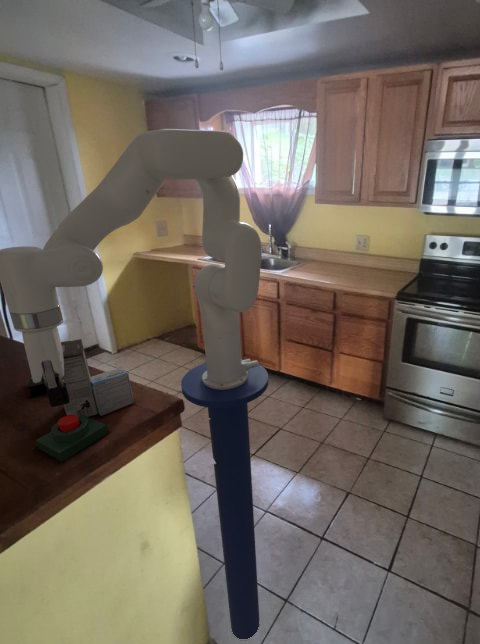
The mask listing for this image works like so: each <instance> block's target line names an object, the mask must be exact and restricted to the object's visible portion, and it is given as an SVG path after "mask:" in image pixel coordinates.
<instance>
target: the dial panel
mask: <svg viewBox="0 0 480 644" xmlns="http://www.w3.org/2000/svg"><path fill="white" fill-rule="evenodd" d="M28 389H29V393H30V395H31V398H32V397H38V396H41V395H46V394H47V391H46V389H47V388H46V385H45V382H44V378H41V382H38V383H34V382H33V380H32V375H31V373H30V374H29V382H28Z"/></svg>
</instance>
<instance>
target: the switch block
mask: <svg viewBox="0 0 480 644" xmlns="http://www.w3.org/2000/svg"><path fill="white" fill-rule="evenodd" d="M78 419H79V422H80V425H79V427H78V428H76V429H74V430H71V431H68V432H62V431H60V428H59V425H58V421H57V422H56V423H55V424H53V426H51V429H50V430H51V431H50V432H48V433H46V434H44V435H43V436H41V437H39V438H37V439H35V443H36V445H37V448H38V450H40V451H42V452H44V453H45V454H47V455H49V456H50V457H53V458H54V459H56V460H58V461H60V462H62V463H64V461H66V460H68V459H69V458H71V457H73V456H75V454H77V453H79V452H81V451H82V450H84V449H85V448H87V447H89V446H90V445H91V444H93V443H95V442H96V441H98V440H100V439H101V438H102V437H104V436H106V435H107V434H108V429H107V426H106V424H105V423H102V422H100V421H98V420H95V419H93V418H91V417H86V416H84V415H81V416H78Z"/></svg>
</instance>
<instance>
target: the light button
mask: <svg viewBox="0 0 480 644" xmlns="http://www.w3.org/2000/svg"><path fill="white" fill-rule="evenodd" d="M57 422H58V425H59V428H60V431H62V432H68V431H71V430H74V429H76V428H78V427H79V425H80V422H79V419H78V416H77V415H68V416H67V415H65V416H63V417H61V418H60V419H58V421H57Z"/></svg>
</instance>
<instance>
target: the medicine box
mask: <svg viewBox="0 0 480 644" xmlns="http://www.w3.org/2000/svg"><path fill="white" fill-rule="evenodd" d="M91 386H92V390H93V394H94V398H95V402H96V406H97V409H98V415H99V416H101V417H102V416H105V415H107V414H110V413H112V412H114V411H118V410H119V409H122V408H125V407H127V406H130V405H132V404H134V403H135V399H134V395H133V390H132V389H133V388H132V384H131V380H130V374H129V372H128V371H126V370H125V369H124V368H122V367H116V368H114V369H111V370H107V371H104V372H102V373H98V374H95V375H92V376H91Z"/></svg>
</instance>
